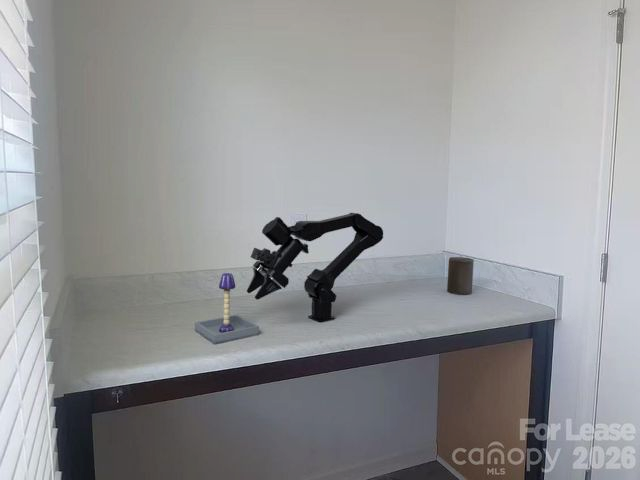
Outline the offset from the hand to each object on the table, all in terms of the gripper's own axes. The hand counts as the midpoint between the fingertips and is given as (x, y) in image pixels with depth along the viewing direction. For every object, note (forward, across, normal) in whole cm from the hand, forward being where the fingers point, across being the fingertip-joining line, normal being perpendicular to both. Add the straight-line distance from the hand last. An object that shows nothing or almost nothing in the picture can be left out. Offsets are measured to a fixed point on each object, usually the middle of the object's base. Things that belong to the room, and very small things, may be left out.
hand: (251, 295), depth 135 cm
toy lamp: (+12, +1, +1) cm, 12 cm away
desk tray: (+13, +1, +1) cm, 13 cm away
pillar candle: (-54, -16, +73) cm, 92 cm away
